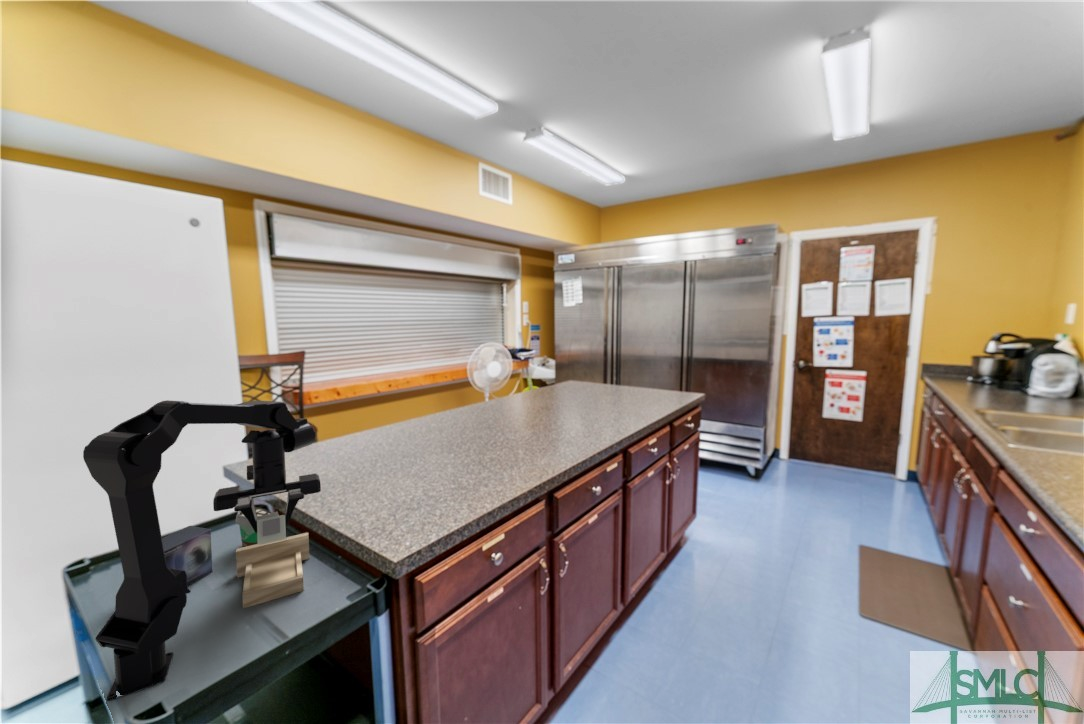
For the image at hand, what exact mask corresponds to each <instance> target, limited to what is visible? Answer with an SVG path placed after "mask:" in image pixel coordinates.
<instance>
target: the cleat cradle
mask: <svg viewBox="0 0 1084 724" xmlns="http://www.w3.org/2000/svg"><path fill="white" fill-rule="evenodd" d="M309 538H310V537H309V532H307V531H306V532H303V533H300V534H296V535H295V534H294V535H290V536H286V539H283V540H278V541H274V542H270V543H265V544H261V545H258V544H255V545H251V546H247V547H242V546H241V547H238V548H236V551H235V558H236V560H235V561H236V577H237V578H241V577H244V581H243V586H242V587H243V589H242V595H241V597H242V609H246V608H250V607H253V606H256V605H259V604H263V603H266V602H269V601H273V600H276V599H280V598H283V597H287V596H290V595H293V594H296V593H299V592H303V591H305V588H304V574H303V563H302V562H303V561H305V560H306V561H307V560H310V541H309Z"/></svg>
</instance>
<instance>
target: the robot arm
mask: <svg viewBox="0 0 1084 724" xmlns="http://www.w3.org/2000/svg"><path fill="white" fill-rule="evenodd" d="M194 424H195V425H196V424H197V425H202V424H203V425H207V424H212V425H213V424H214V425H215V424H216V425H217V424H218V425H219V424H220V425H221V424H230V425H231V424H235V425H236V424H237V425H240V426H244V427H249V428H258V429H267V430H262V431H260V430H255V429H254V430H250V431H249V432H248V433H247V435H245V436H244V437H243V438H242V440H241V443H242V444H251V448H252V449H251V451H252V453H251V454H252V464H251V465H246V480H247V481H252V480H253V488H250V489H244V490H243V489H242V490H241V487H240V485H236V486H230V487H223V488H219V489H218V490H217V491H216V492H215V494H214V497H213V503H212V504H213V512H220V511H224V510H231V509H233V510H234V512H238V511H241V512H242V514H243V515H244V516H245V517H246V518H247V519H248V521H249V523H250V524H251V526H252V528H253V530H254V531H255V533H257V517H256V512H255V508H254V506H255V503H254V499H256V498H261V497H262V498H263V497H267V496H272V495H277V494H283V493H287V500H286V509H285V514H284V515H285V525H286V527H288V525H289V524H290V521H291V517H292V515H293V513H294V510H295V509H296V506H297V504H298V502H299V501H300V500H303V499H305V495H312V494H318V493H320V492H321V488H322V487H321V479H320V475H319V474H317V473H311V474H305V475H299V476H298V481H297V480H296V481H292V482H287V474H286V472H287V471H286V470H287V469H286V455H285V454H286V453H292V452H294V451H297V450H301V449H303V448H305V447H309V446H310V445H312V444H313V443H314V441H315V439H316V432H315V429H314V427H312V425H310V424H309V423H308V418H303V417H299V418H295V417H294V416H293V414H292V413H291V412H290V411H289V408H288V406H287V403H285V402H283V401H274V400H272V401H271V400H270V401H269V400H252V401H250V400H249V401H243V402H240V403H237V404H236V403H235V404H228V403H227V404H226V403H225V404H223V403H221V404H220V403H205V402H204V403H200V402H199V403H198V402H189V401H183V400H169V399H168V400H162V401H160V402H157V403H155V404H154V405H152V406H151V407H150V408H149V409H147V410H145V411H144V412H141V413H140V414H137V415H135V416H133V417H131V418H130V419H127V420H125V421H123V422H121V423H119V424H117V425H116V426H115V427H113V428H112V429H111V430H109V431H107V432H104V433H101V434H99V435H97V436H96V437H94V438H92V439H91V441H90V442H89V443H88V444H87V445H86V446H84V448H83V451H82V452H83V453H82V455H83V456H82V457H83V461H84V463H85V465H86V467H87V469H88V471H89V473H90V475H91V477H92V478H93V480H94V481H95V482H96V483H97V484H98V485H99V486H100V487H101V488H102V489H103V490H104V491H105V493H106V494H107V496H108V500H109V505H110V506H109V507H110V510H111V516H112V521H113V525H114V526H113V527H114V531H115V536H116V542H117V546H118V547H117V548H118V552H119V557H120V562H121V567H122V572H123V573H122V574H123V580H122V583H121V585H120V587H119V589H118V590H117V593H116V595H115V604H114V605H115V610H114V611H113V613H112V615H111V616H110V617H109V619H108V620H107V621H106V623H105V624H104V625H103V627H102V628H101V630H100V631H99V633H98V634H97V635H96V636H95V638H94V639H95V641H96V642H97V643H98V645H99V646H100V647H101V648H109V649H113V661H114V662H113V663H114V673H115V675H114V676H115V679H114V681H113V683H112V685H111V687H110V689H109V691H108V694H107V696H106V701H109V702H111V701H112V700H113V701H114V700H115V699H117V698H116V697H117V695H116V691H118V692H119V693H120V695H125V696H127V695H130V694H132V693H136V692H138V691H142V690H145V689H147V688H150V687H154V686H155V685H159V684H162V683H164V682H165V681H166V679H167V677H168V674H169V670H170V667H171V664H172V660H173V657H174V652H171V651H170V652H167V650H166V642H167V641H168V640H170V639H171V638H173V637H174V636H175V635H176V634H177V631H178V628H179V626H180V622H181V618H182V614H183V611H184V608H186V605H187V600H188V596H187V595H188V594H190V593H191V590H190V588H189V586H187V575H186V572H185V571H184V570H177V569H171V568H168V567H167V565H166V560H165V554H164V548H163V543H162V538H163V537H162V533H161V532H162V531H161V526H160V520H159V516H158V509H157V504H156V498H155V492H154V483H155V481H156V478H157V476H158V474H159V473H160V471H161V469H162V456H163V453H164V452H166V451H167V450H168V449H170V448H171V447H172V446H173V445H174V444H175V443H176V442H177V440H178V438H179V436H180V434H181V432H182V430H183V429H184V428H185V427H186V426H188V425H194ZM272 429H273V430H272ZM274 430H275V431H274Z"/></svg>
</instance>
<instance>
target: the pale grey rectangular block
mask: <svg viewBox="0 0 1084 724" xmlns="http://www.w3.org/2000/svg"><path fill="white" fill-rule="evenodd" d="M285 515H286V514H281V515H279V516H275V517H270V518H265V519H261V520H257V541H258V545H261V544H265V543H270V542H274V541H278V540H283V539H286V537H287V535H286V534H287V531H286V530H287V529H286V525H285Z"/></svg>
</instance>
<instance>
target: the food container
mask: <svg viewBox="0 0 1084 724" xmlns="http://www.w3.org/2000/svg"><path fill="white" fill-rule="evenodd" d="M254 508H255V512H256V517H257V520H261V519H265V518H270V517H275V516H280V515H279V512H278V511H276V512H275V511H274V512H270V511H269V510H268V509H266V508H260V507H257V506H255V505H254ZM235 523H236V524H237V525H239V532H240V538H241V545H242V546H241V548H242V547H247V546H251V545H255V544H258V541H257V533H255V531H254V530H253V528H252V526H251V524H250V523H249V521H248V519H247V518H246V517H245V516H244V515H243V514H242V512H241V511H237V514H236V516H235Z"/></svg>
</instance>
